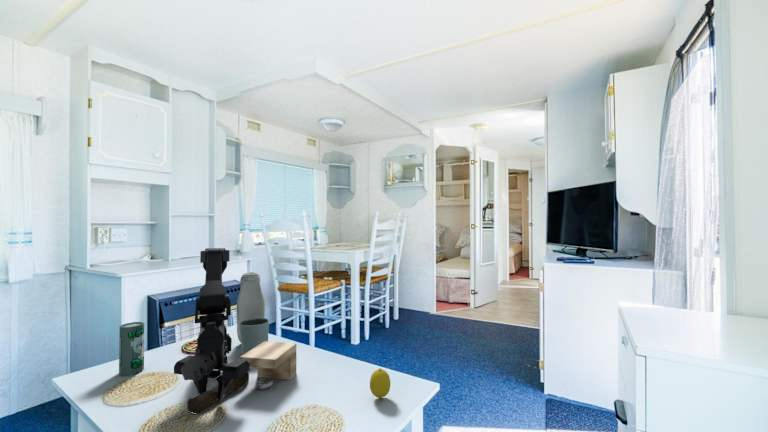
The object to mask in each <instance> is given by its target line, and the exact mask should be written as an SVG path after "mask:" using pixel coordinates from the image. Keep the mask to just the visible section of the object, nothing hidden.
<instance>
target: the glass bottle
mask: <svg viewBox="0 0 768 432" xmlns="http://www.w3.org/2000/svg"><path fill="white" fill-rule="evenodd" d="M239 282H240V283H239V284H240V288H239V292H238V296H237V301H236V333H237V339H238V341H239V342H240V343H241V341H242V340H241V333H240V322H242V321H244V320H247V319H252V318H266V317H265V315H266V314H265V313H266V312H265V311H266V310H265V309H266V307H265V306H266V305H265V298H264V295H263V292H262V287H261V277H260V274H259V273H257V272H254V271H253V272H252V271H251V272H246V273H243V274H241V277H240V280H239Z"/></svg>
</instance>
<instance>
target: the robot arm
mask: <svg viewBox="0 0 768 432" xmlns="http://www.w3.org/2000/svg"><path fill="white" fill-rule="evenodd" d="M199 254H200V258H199V259H200V262H199V263H201V264H202V267H203V269H204V271H205V283H204V285H202V287H200V289H199V294H198V297H196V298H195V311H194V324H199V332H198V334H197V335H198V336H197V340H196V344H197V346H196V347H195V353H194V355H188V356H185V357H183V358H182V359H179V360H178V361H176V362H175V364H174V366H173V374H174V375H182V377H183V379H184V381H192V382H193V384H194V386H195V388H196V390H197V392H198V395H199V394H202V393H204V392H205V391H207V390H208V383H209V378H214V380H215V381H216V382H217V385H218V400H217V401H218V402H222V401H223V399H224V397H225V396H226V395H225V393H226V390H227V388H228V386H229V384H230V382H231V380H232V379H238V378H240V377H241V376H242V375H244V374H245V373H246V372H248V373H249V371H250V370H251V367H250V364H249V362H248V361H247V360H240V358H238V359H234V360H233V361H231V362H228V355H227V354H229V353H230V352H231V351H232V337H231V335H230V333H227V331H228V330H227V329H228V328H227V326H226V325H225V321H229V316H232V315H231V313H232V312H231V311H232V306H231V305H232V301H231V298H230V295H229V294H226V286H225V285H224V284H223V274H224V272H225V270H226V269H227V267H228V263H229V262H230V250H229V249H226V247H212V248H211V247H209V248H204V250H201V251H200V253H199ZM224 395H225V396H224Z"/></svg>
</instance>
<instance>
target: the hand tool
mask: <svg viewBox="0 0 768 432" xmlns="http://www.w3.org/2000/svg"><path fill="white" fill-rule="evenodd" d="M249 381H250V373H249V371H248V372H246V373H245V374H244V375H242V376H241V377H240V378H238V379H232V380H231V382H230V384H229V386H228V388H227V390H226V393H225V395H224V397H225V396H226V395H228V394H230V393H231V392H233V391H234V392H236V391H239V390H241V389H242V388H243V387H244V386H246V385H247V383H248V382H249ZM216 401H219V400H218V384H217V385H215V386H213V387H211V388H209V389H207V391H205V392H204V393H202V394H199V393H198V394H197V395H196V396H194V397H189V398H188V400H187V403H186V404H187V408H186V409H187V411H188V412H189V411H190V412H193V413H197V414H199V412H200V411H201V410H204V409H205V408H206V407H208V406H209V405H212V404H213V403H214V402H216ZM201 412H202V411H201Z"/></svg>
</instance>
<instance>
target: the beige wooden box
mask: <svg viewBox="0 0 768 432" xmlns="http://www.w3.org/2000/svg"><path fill="white" fill-rule="evenodd" d="M239 359H240V360H247V361H248V362H249V364H250V368H251V367H252V368H257V369H256V370H257V376H256V377H257V378H259V377H260V378H271V379H279V380H280V379H281V380H292V379H293V378H294V377H295V376H296V375H297V342H294V343H293V342H282V341H280V342H279V341H269V340H268V341H264V342H263V343H261V344H259V345H258V346H256V347H255V348H253V349H251V350H250V351H248V352H247V353H245V354H243V355H242V354H241V355H240V356H239Z"/></svg>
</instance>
